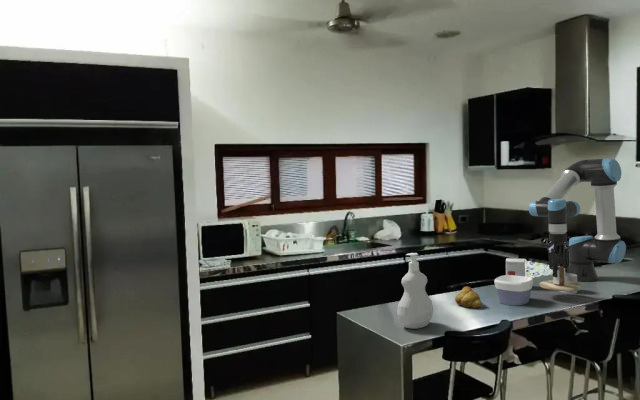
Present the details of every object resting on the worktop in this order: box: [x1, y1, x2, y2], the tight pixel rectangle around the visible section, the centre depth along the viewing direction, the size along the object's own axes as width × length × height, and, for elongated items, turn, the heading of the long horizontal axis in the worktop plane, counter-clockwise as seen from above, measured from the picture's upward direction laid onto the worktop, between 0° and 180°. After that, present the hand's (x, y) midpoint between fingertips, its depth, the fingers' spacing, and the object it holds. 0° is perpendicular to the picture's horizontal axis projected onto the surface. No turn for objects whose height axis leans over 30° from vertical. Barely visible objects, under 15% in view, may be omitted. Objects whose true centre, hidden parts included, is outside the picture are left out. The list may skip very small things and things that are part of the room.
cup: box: [560, 272, 578, 295], centre depth 238 cm, size 7×10×9 cm
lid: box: [538, 266, 581, 292], centre depth 226 cm, size 17×17×9 cm
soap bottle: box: [396, 252, 434, 330], centre depth 196 cm, size 17×12×29 cm
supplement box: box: [505, 258, 526, 277], centre depth 250 cm, size 9×9×15 cm
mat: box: [529, 290, 594, 308], centre depth 226 cm, size 18×22×1 cm
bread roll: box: [454, 285, 483, 309], centre depth 222 cm, size 13×10×8 cm
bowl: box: [493, 274, 534, 307], centre depth 225 cm, size 15×15×11 cm
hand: (559, 282), depth 226 cm, fingers closed on lid, 4 cm apart
